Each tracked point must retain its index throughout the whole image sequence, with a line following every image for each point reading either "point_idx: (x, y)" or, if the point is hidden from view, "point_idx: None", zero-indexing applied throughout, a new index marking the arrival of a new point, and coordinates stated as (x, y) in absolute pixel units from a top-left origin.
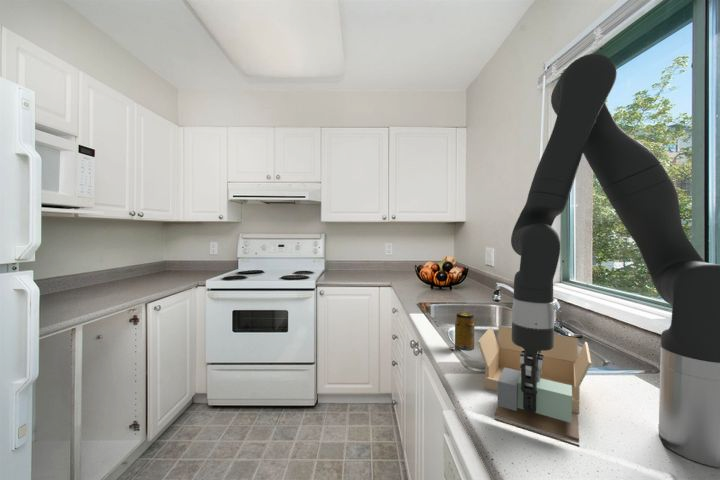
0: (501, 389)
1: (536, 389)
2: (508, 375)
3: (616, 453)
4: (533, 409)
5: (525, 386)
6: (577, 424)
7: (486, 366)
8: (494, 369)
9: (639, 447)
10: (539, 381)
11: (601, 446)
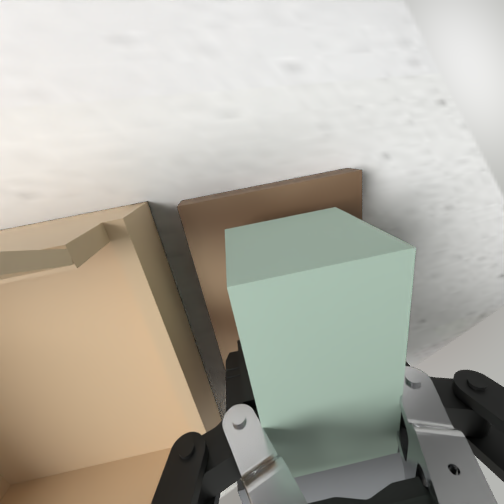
0: None
1: (434, 391)
2: (336, 495)
3: (305, 52)
4: None
5: (486, 433)
6: (263, 192)
7: None
8: (105, 489)
9: None
10: (436, 427)
11: (293, 105)
